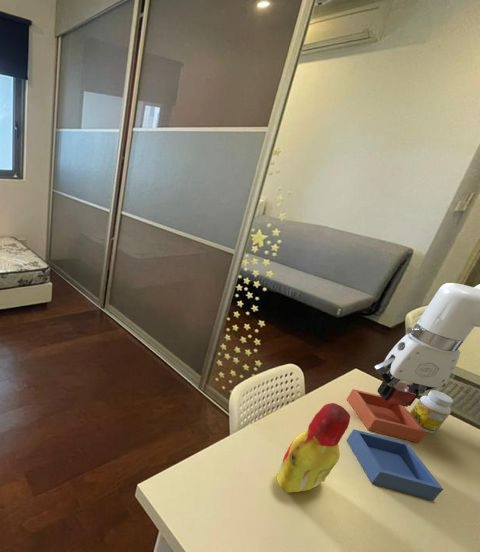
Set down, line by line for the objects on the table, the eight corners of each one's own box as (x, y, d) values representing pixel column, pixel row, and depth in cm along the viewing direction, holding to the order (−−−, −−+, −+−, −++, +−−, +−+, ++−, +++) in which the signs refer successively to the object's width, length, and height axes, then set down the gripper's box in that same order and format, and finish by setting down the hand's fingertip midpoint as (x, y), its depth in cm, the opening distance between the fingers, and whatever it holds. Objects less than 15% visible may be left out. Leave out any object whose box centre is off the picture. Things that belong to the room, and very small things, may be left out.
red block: (396, 395, 80) (405, 383, 78) (407, 407, 76) (416, 394, 75) (378, 391, 81) (386, 378, 79) (388, 402, 77) (396, 390, 75)
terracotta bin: (391, 409, 85) (398, 399, 83) (418, 443, 75) (427, 432, 74) (346, 398, 87) (352, 388, 85) (367, 430, 77) (375, 419, 76)
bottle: (289, 506, 59) (336, 429, 50) (260, 474, 64) (298, 400, 56) (330, 486, 63) (379, 412, 55) (299, 457, 68) (340, 386, 60)
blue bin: (399, 453, 72) (407, 442, 70) (433, 500, 63) (443, 489, 61) (346, 439, 74) (353, 428, 73) (371, 483, 65) (380, 471, 63)
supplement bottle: (439, 437, 78) (462, 408, 74) (411, 427, 80) (432, 398, 76) (429, 421, 82) (451, 393, 78) (403, 412, 84) (422, 384, 80)
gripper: (402, 337, 69) (362, 400, 77) (496, 357, 66) (444, 420, 73) (382, 320, 76) (347, 379, 83) (466, 337, 73) (421, 397, 80)
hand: (393, 398), depth 78 cm, fingers closed on red block, 4 cm apart
